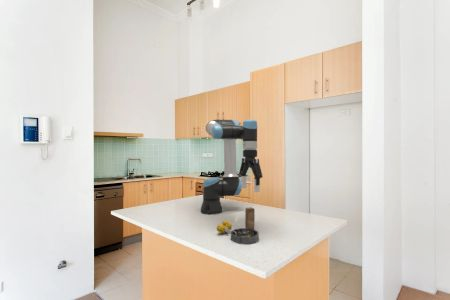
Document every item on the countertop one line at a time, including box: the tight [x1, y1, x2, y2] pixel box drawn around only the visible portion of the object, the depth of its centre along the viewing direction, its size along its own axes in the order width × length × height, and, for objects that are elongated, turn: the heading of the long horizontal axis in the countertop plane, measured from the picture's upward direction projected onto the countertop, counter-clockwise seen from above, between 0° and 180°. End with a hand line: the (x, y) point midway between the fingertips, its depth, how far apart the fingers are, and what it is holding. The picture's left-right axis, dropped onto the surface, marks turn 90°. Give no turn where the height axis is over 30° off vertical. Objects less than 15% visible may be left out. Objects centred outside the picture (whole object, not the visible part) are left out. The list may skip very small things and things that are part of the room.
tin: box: [230, 227, 260, 245], centre depth 117 cm, size 13×13×3 cm
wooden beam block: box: [244, 206, 255, 230], centre depth 129 cm, size 4×4×12 cm
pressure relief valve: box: [216, 220, 237, 236], centre depth 124 cm, size 6×12×10 cm
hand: (250, 189), depth 129 cm, fingers open, 13 cm apart
